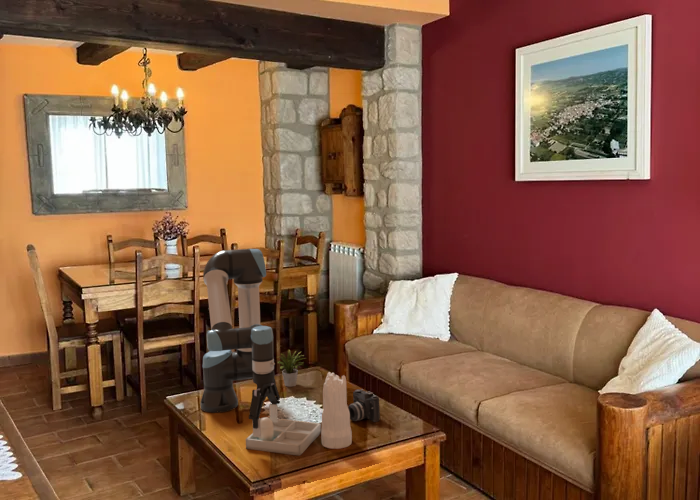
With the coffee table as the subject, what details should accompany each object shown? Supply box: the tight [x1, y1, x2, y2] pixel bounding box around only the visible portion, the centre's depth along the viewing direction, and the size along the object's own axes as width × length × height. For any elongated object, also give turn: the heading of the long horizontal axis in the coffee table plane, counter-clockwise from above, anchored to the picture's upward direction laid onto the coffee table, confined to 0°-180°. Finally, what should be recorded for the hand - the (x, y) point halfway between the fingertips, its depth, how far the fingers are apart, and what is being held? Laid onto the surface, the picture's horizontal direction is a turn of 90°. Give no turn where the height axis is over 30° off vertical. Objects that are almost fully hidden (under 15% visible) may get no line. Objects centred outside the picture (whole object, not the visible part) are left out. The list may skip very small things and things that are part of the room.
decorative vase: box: [320, 371, 353, 450], centre depth 236 cm, size 11×11×25 cm
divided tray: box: [245, 418, 322, 457], centre depth 240 cm, size 20×20×4 cm
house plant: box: [276, 348, 307, 388], centre depth 298 cm, size 14×14×16 cm
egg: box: [258, 416, 274, 441], centre depth 236 cm, size 6×6×9 cm
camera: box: [348, 388, 381, 423], centre depth 259 cm, size 14×11×10 cm
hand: (265, 428), depth 236 cm, fingers open, 13 cm apart
